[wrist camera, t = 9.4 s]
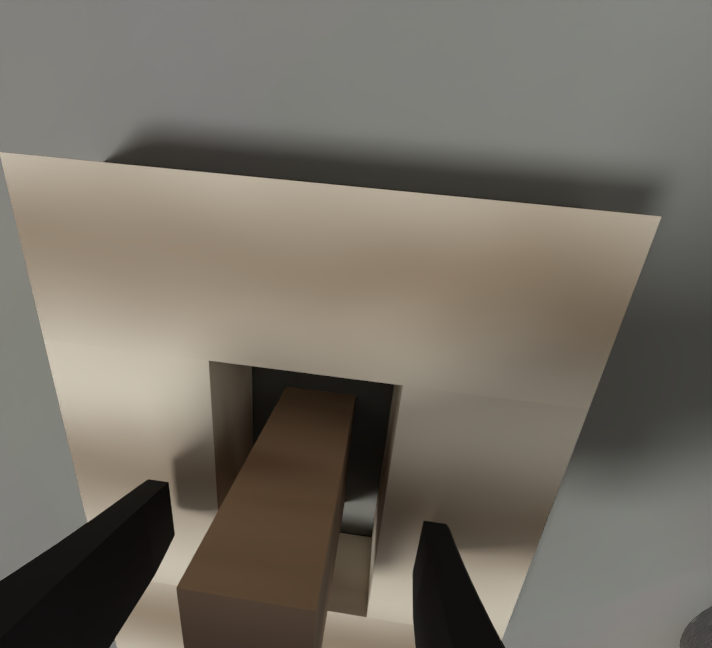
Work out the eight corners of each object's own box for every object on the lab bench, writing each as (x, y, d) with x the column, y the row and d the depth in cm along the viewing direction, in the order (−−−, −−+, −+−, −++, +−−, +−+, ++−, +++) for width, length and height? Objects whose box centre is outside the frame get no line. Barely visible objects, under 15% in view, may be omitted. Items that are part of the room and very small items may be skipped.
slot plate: (459, 624, 16) (473, 714, 14) (162, 575, 17) (117, 650, 14) (586, 208, 10) (661, 216, 7) (101, 161, 11) (-1, 152, 8)
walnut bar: (344, 502, 15) (304, 757, 8) (283, 493, 15) (195, 736, 8) (355, 395, 13) (315, 611, 6) (286, 386, 13) (176, 587, 6)
